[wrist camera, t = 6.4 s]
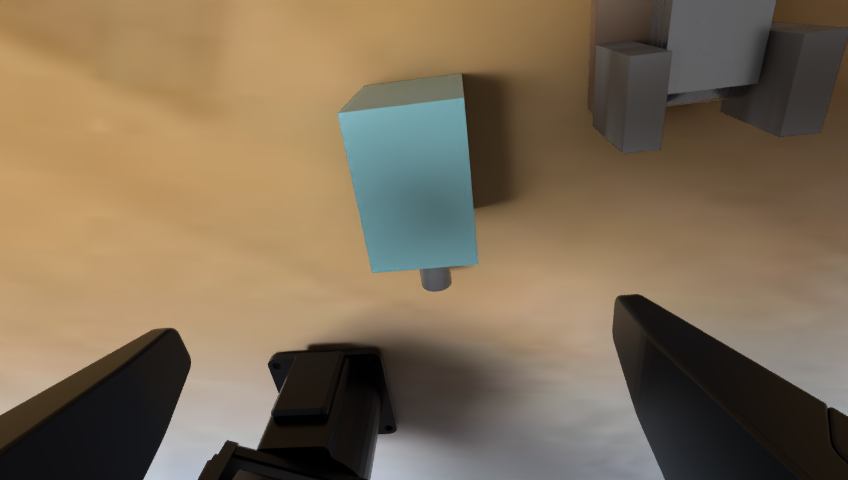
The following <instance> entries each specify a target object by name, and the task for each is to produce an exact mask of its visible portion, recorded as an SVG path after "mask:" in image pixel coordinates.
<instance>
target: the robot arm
mask: <svg viewBox="0 0 848 480" xmlns="http://www.w3.org/2000/svg"><path fill="white" fill-rule="evenodd" d="M612 333H613V340H614V344H615V347H616V350H617V354H618V357H619V360H620V363H621V367H622V370H623V373H624V376H625V380H626V383H627V386H628V389H629V392H630V396H631V399H632V402H633V405H634V408H635V411H636V414H637V417H638V419H639V421H640V424H641V426H642V429H643V431H644V433H645V435H646V438H647V440H648V442H649V444H650V447H651V449H652V451H653V453H654V456H655V458H656V460H657V462H658V465H659V467H660V469H661V471H662V474H663V476H664V478H665V480H848V416H846V415H845V414H843V413H841V412H839V411H838V410H836V409H834V408H832V407H830V408H828V407H827V405H826V404H825V403H824V402H822V401H820V400H819V399H817V398H815V397H814V396H812V395H810V394H809V393H807V392H805V391H803V390H802V389H800V388H798V387H797V386H795V385H793V384H792V383H790V382H788V381H786V380H785V379H783V378H781V377H780V376H778V375H776V374H775V373H773V372H771V371H769V370H768V369H766V368H764V367H763V366H761V365H759V364H758V363H756V362H754V361H752V360H751V359H749V358H747V357H746V356H744V355H742V354H740V353H739V352H737V351H735V350H734V349H732V348H730V347H729V346H727V345H725V344H723V343H722V342H720V341H718V340H717V339H715V338H713V337H712V336H710V335H708V334H706V333H705V332H703V331H701V330H700V329H698V328H696V327H695V326H693V325H691V324H689V323H688V322H686V321H684V320H683V319H681V318H679V317H678V316H676V315H674V314H672V313H671V312H669V311H667V310H666V309H664V308H662V307H661V306H659V305H657V304H655V303H654V302H652V301H650V300H649V299H647V298H645V297H644V296H642V295H639V294H632V295H620V296H618V297H617V298H616V300H615V305H614V316H613V328H612ZM370 357H374V358H375V359H373V358H370ZM277 363H279V364H277ZM190 366H191V358H190V355H189V353H188V351H187V349H186V347H185V345H184V343H183V341H182V339H181V337H180V335H179V333H178V331H177V330H175V329H174V328H160V329H154V330H151V331H149V332H148V333H146V334H144V335H142V336H140V337H139V338H137V339H135V340H133V341H132V342H130V343H128V344H126V345H124V346H123V347H121V348H119V349H117V350H116V351H114V352H112V353H110V354H108V355H107V356H105V357H103V358H101V359H100V360H98V361H96V362H94V363H92V364H91V365H89V366H87V367H85V368H84V369H82V370H80V371H78V372H77V373H75V374H73V375H71V376H69V377H68V378H66V379H64V380H62V381H61V382H59V383H57V384H55V385H53V386H52V387H50V388H48V389H46V390H45V391H43V392H41V393H39V394H37V395H36V396H34V397H32V398H30V399H29V400H27V401H25V402H23V403H21V404H20V405H18V406H16V407H14V408H13V409H11V410H9V411H7V412H6V413H4V414H2V415H0V480H143V479H144V477H145V475H146V473H147V471H148V469H149V467H150V465H151V463H152V461H153V459H154V457H155V455H156V452H157V450H158V448H159V446H160V444H161V442H162V440H163V438H164V436H165V433H166V431H167V428H168V426H169V423H170V421H171V418H172V415H173V413H174V410H175V407H176V405H177V402H178V399H179V397H180V394H181V391H182V389H183V386H184V383H185V381H186V378H187V375H188V373H189V370H190ZM268 367H269V369H270V372H271V375H272V377H273V380H274V382H275V385H276V387H277V390H278V393H279V395H278V397H277V400H276V402H275V404H274V406H273V409H272V411H271V417H270V420H269V422H268V424H267V427H266V429H265V431H264V434H263V436H262V438H261V441H260V443H259V445H258V448H257V450H254V449H251V448H247V447H243V446H239V445H238V444H239V443H236V442H232V441H229V440H227V441H226V442H225V444H224V446H223V447H222V449H221V451H220V452H219V454H218V455H217V454H215V455H214V456H213V458H212V459H211V460H209V461H207V463H206V465H205V467H204V469H203V471H202V472H201V474H200V476H199V478H198V480H370V478H371V472H372V466H373V460H374V454H375V448H376V442H377V436H378V434H391V433H394V432H395V431H396V430H397V419H396V414H395V410H394V406H393V401H392V397H391V393H390V388H389V384H388V379H387V375H386V371H385V366H384V362H383V358H382V354H381V352H380V351H379V350H377V349H373V348H369V349H354V350H338V351H323V352H307V353H291V354H277V355H273V356H272V357H271V359H270V361H269V363H268Z"/></svg>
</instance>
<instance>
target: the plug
mask: <svg viewBox="0 0 848 480" xmlns="http://www.w3.org/2000/svg"><path fill="white" fill-rule="evenodd" d="M337 114H338V118H339V123H340V127H341V132H342V137H343V141H344V146H345V150H346V155H347V159H348V164H349V169H350V173H351V178H352V182H353V187H354V192H355V196H356V201H357V205H358V210H359V215H360V219H361V224H362V228H363V233H364V237H365V242H366V247H367V251H368V256H369V260H370V265H371V270H372V273H378V272H390V271H402V270H415V269H420V274H421V281H422V286H423V288H424V289H426V290H428V291H434V292H435V291H442V290H444V289H446V288H448V287H449V286H450V285H451V283H452V281H451V272H450V267H452V266H464V265H476V264H478V254H477V242H476V231H475V219H474V207H473V196H472V184H471V173H470V161H469V149H468V138H467V126H466V114H465V103H464V93H463V84H462V74H461V73H460V74H452V75H444V76H436V77H429V78H421V79H413V80H405V81H398V82H390V83H382V84H374V85H367V86H364V87H363V88H362V89H361V90H360V91H359V92H358V93H357V94H356V95H355V96H354V97H353V98H352V99H351V100H350V101H349V102H348V103H347V104H346V105H345V106H344V107H343V108H342V109H341V110H340V111H339V112H338V113H337Z"/></svg>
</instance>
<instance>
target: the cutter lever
mask: <svg viewBox="0 0 848 480" xmlns="http://www.w3.org/2000/svg"><path fill="white" fill-rule="evenodd" d="M775 4H776V0H653V9H652V18H651V28H650V38H649V45H650V46H654V47H658V48H662V49H666V50H670V51H673V52H672V61H671V69H670V78H669V86H668V94H667V103H666V107H667V106H676V105H685V104H693V103H702V102H711V101H719V100H728V99H736V98H743V97H744V96H746V95H747V94H748V92H749V90H750V88H751V85H752V84H758V81H759V77H760V72H761V68H762V63H763V59H764V54H765V50H766V45H767V41H768V36H769V32H770V27H771V23H772V18H773V13H774V9H775Z"/></svg>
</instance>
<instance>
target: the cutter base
mask: <svg viewBox="0 0 848 480" xmlns="http://www.w3.org/2000/svg"><path fill="white" fill-rule="evenodd" d="M652 9H653V0H592V14H591V39H590V65H589V90H588V109H589V110H590V111H591V112H592V113H593V127H594V128H595V129H596V130H598V131H599V132H600V133H601V134H602V135H603V136H604V137H605V138H606V139H607V140H608V141H610V142H611V143H612V144H613V145H614V146H615V147H616V148H617V149H618V150H619V151H620V152H622V153H623V154H624V153H633V152H643V151H652V150H661V145H662V136H663V128H664V119H665V111H666V103H667V94H668V86H669V78H670V69H671V61H672V52H673V51H670V50H666V49H662V48H658V47H654V46H650V45H649V38H650V28H651V18H652ZM847 39H848V28H841V27H829V26H816V25H804V24H791V23H779V22H772V23H771V27H770V32H769V36H768V41H767V45H766V50H765V54H764V59H763V63H762V68H761V72H760V77H759V81H758V84H752V85H751V88H750V90H749V92H748V94H747V95H746V96H744V97H743V98H736V99H728V100H722V104H721V110H720V112H723V113H725V114H727V115H730V116H732V117H734V118H737V119H739V120H741V121H744V122H746V123H748V124H751V125H753V126H755V127H758V128H760V129H762V130H765V131H767V132H769V133H772V134H774V135H776V136H779V137H784V136H794V135H803V134H813V133H821V130H822V126H823V123H824V119H825V116H826V112H827V109H828V105H829V102H830V98H831V95H832V91H833V88H834V84H835V81H836V77H837V74H838V70H839V67H840V63H841V60H842V56H843V53H844V49H845V46H846V42H847Z"/></svg>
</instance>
